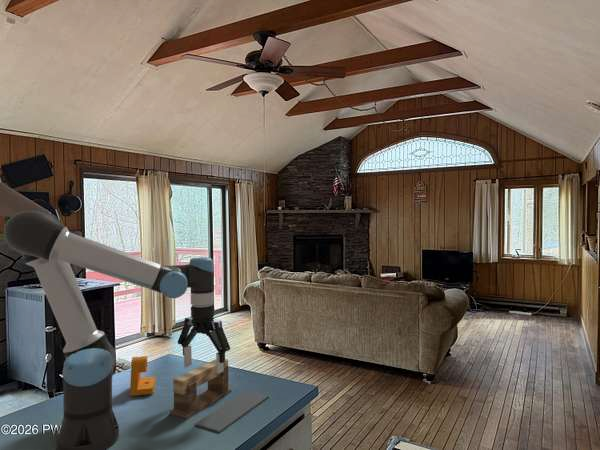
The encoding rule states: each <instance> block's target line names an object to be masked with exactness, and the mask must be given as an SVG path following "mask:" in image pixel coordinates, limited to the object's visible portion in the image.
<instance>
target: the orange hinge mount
mask: <svg viewBox="0 0 600 450" xmlns="http://www.w3.org/2000/svg"><path fill="white" fill-rule="evenodd" d="M130 363H131V365H130V381H129V382H130V383H129V386H130V387H129V393H130V394H129V396H140V395H141V396H143V395H151V394H154V392H155V389H156V379H157V378H156V376H146V377H142V373H147V371H148V355H144V356H142V355H141V356H132V358H131V362H130Z"/></svg>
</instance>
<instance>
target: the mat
mask: <svg viewBox="0 0 600 450" xmlns="http://www.w3.org/2000/svg"><path fill="white" fill-rule="evenodd" d="M269 397H270V396H269V394H263V393H259V392H254V391H250V390H245V391H244V392H242V393H240V394H238V395H237V396H236V397H234V398H232V399H231V400H230V401H228V402H226V403H225V404H224V405H222V406H220V407H219V408H217V409H216V410H214V411H212V412H211V413H210V414H208V415H206V416H205V417H202V419H200V420H199V421H197V422H195V423H194V425H195V426H196V427H199V428H202V429H206V430H208V431H210V432H211V431H212V432H215V433H217V434H221V433H222V432H223V431H224V430H226V429H227V428H229V427H230V426H231V425H233V424H234V423H235V422H237V421H238V420H240V419H241V418H243V417H244V416H246V414H248V413H250V412H251V411H252V410H253V409H255V408H257V407H258V406H259V405H260V404H262V403H263V402H265V401H266V400H267V399H268V398H269Z"/></svg>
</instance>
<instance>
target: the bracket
mask: <svg viewBox="0 0 600 450" xmlns="http://www.w3.org/2000/svg"><path fill="white" fill-rule="evenodd" d="M197 388H198V387H197V382H193V383H191V384H189V385H188V392H187V393H185V394H179V393H175V392H173V408H172V409H169V414H171V415H173V416H176V417H177V416H178V417H180V418H184V419H189V418H190V417H192V416H194V415H195V414H196V413H199V412H201V411H202V410H203V409H205V408H207V407H208V406H210V405H212V404H214V403H215V402H217V401H218V400H220V399H222V398H224V397H225V396H227V395H228V394H230V393H231V392H233V391H232V388H231V387H229V365H228V366H227V365H226V366H224V371H223V372H221V375H219V376H217V377H215V378H214V379H212V380H210V381H208V382H207V389H206V390H204V391H202V392H200V393H199V394H198V392H197V391H198V390H197Z"/></svg>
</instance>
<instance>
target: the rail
mask: <svg viewBox="0 0 600 450" xmlns="http://www.w3.org/2000/svg"><path fill="white" fill-rule="evenodd" d="M226 365H227V366H228V367H229V359H227V358H225V362H224V366H226ZM219 375H221V373H219V374H217V373H216V358H215V359H214V360H210V361H209V362H207V363H204V364H203V365H201V366H198V367H196V368H194V369H192V370H189V371H187V372H186V373H183V374H181V375H178V376H177V377H174V378H172V379H173V380H172V381H173V383H172V384H173V387H172V388H173V391H172V392H173V393H174V392H175V393H179V394H185V393H187V392H188V385H189V384H191V383H193V382H197V388H198V387H200V386H202V385H204V384H206V383H208V381H210V380H212V379H214V378H215V377H217V376H219Z"/></svg>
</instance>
